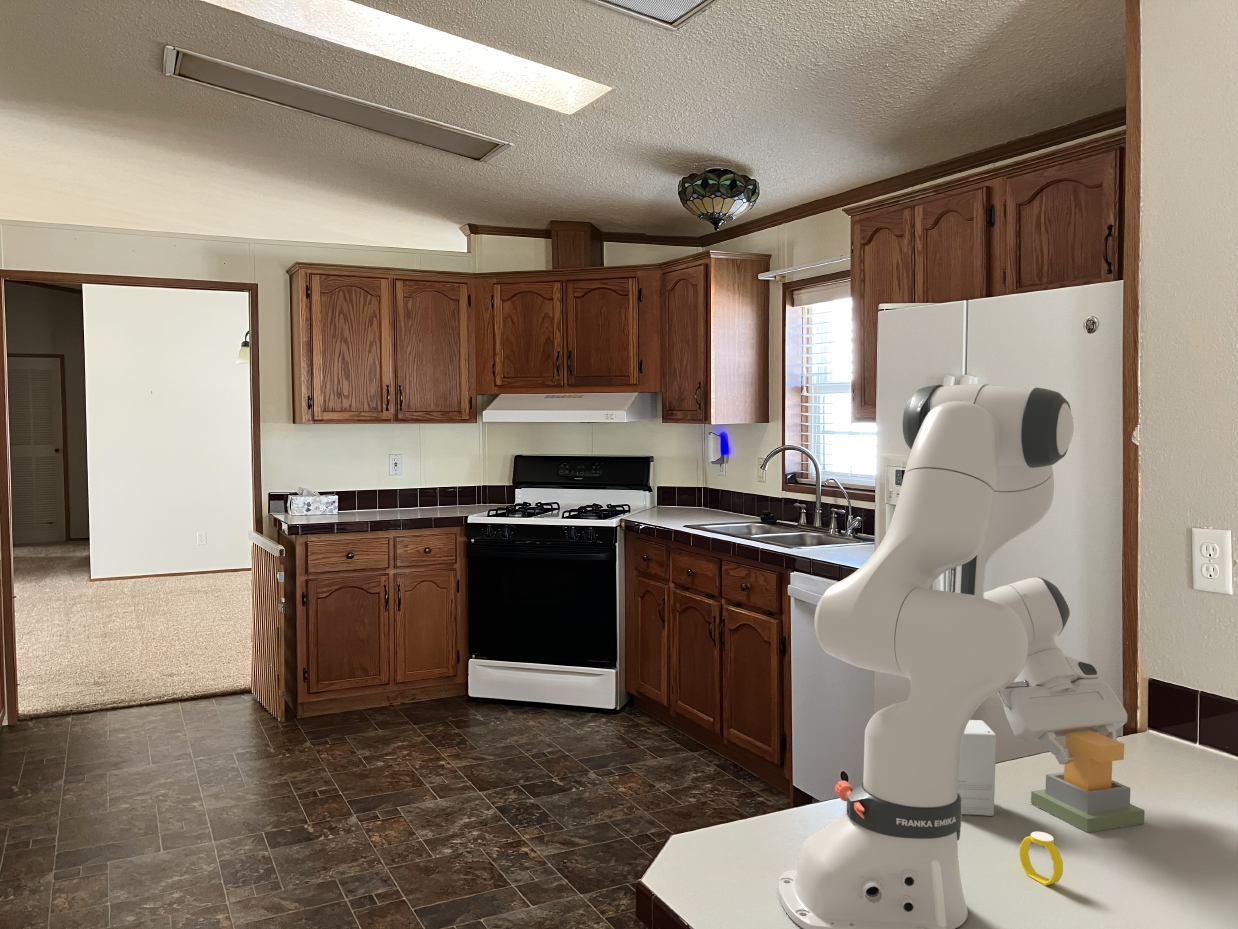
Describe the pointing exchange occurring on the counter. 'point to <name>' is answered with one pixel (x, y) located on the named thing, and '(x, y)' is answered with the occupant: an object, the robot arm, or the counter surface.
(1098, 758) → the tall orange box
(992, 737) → the supplement box
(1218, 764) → the counter surface
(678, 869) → the counter surface
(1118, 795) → the grey-rimmed base plate
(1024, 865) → the watch
